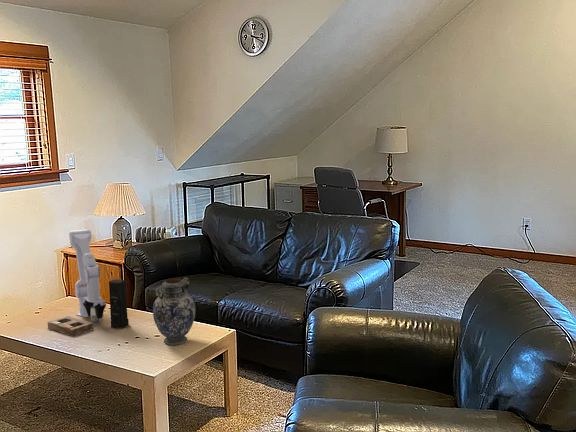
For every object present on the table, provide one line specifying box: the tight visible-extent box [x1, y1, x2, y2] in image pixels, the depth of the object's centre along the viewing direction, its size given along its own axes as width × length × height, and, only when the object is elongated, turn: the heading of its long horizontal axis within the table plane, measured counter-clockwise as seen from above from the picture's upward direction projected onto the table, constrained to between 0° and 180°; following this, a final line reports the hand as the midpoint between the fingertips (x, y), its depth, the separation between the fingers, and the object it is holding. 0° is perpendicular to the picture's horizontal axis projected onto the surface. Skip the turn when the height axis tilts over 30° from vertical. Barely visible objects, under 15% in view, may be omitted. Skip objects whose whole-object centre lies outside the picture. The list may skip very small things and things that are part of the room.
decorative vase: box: [152, 276, 196, 346], centre depth 252 cm, size 21×19×28 cm
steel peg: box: [90, 306, 101, 325], centre depth 280 cm, size 4×4×8 cm
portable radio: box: [108, 276, 129, 330], centre depth 273 cm, size 8×6×25 cm
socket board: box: [47, 315, 94, 337], centre depth 272 cm, size 11×20×3 cm, turn 55°
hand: (95, 317), depth 280 cm, fingers open, 7 cm apart
